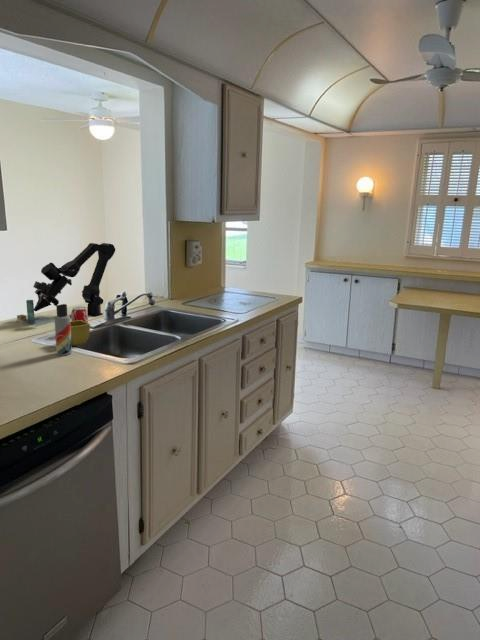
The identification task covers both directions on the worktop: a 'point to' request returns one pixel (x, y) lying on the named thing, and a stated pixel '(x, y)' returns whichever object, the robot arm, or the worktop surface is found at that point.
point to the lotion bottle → (63, 331)
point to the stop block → (21, 318)
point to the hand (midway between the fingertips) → (34, 310)
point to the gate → (30, 311)
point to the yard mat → (40, 321)
